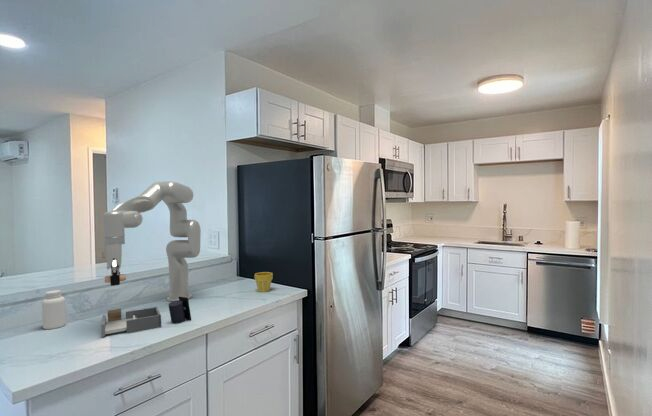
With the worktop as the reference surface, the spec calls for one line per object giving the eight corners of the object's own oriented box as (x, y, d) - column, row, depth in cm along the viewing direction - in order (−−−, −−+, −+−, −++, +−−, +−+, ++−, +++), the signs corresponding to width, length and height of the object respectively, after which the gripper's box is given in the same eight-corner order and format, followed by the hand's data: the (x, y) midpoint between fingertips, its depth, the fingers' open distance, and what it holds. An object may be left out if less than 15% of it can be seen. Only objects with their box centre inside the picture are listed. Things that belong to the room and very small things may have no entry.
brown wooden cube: (108, 321, 155) (107, 310, 155) (121, 319, 158) (120, 308, 158) (107, 324, 151) (107, 313, 151) (121, 322, 154) (121, 311, 154)
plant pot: (276, 289, 205) (276, 273, 205) (262, 293, 197) (262, 276, 197) (265, 287, 212) (264, 271, 212) (251, 291, 204) (250, 274, 204)
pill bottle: (40, 331, 146) (39, 294, 145) (45, 325, 153) (44, 290, 153) (64, 327, 149) (63, 292, 149) (67, 322, 156) (66, 288, 156)
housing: (157, 317, 159) (157, 306, 159) (161, 327, 146) (160, 315, 146) (125, 323, 153) (125, 311, 153) (126, 333, 140) (126, 320, 140)
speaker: (186, 316, 159) (183, 294, 157) (191, 320, 154) (188, 297, 153) (168, 322, 154) (166, 299, 152) (173, 326, 149) (171, 302, 148)
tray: (137, 320, 155) (136, 309, 155) (139, 330, 142) (138, 318, 142) (103, 326, 148) (102, 315, 148) (102, 337, 136) (101, 324, 136)
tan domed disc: (105, 280, 149) (105, 275, 149) (125, 278, 153) (125, 273, 153) (104, 283, 143) (104, 278, 143) (125, 281, 146) (125, 276, 146)
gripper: (104, 240, 154) (106, 281, 154) (102, 243, 138) (103, 288, 138) (124, 239, 157) (125, 278, 157) (124, 242, 142) (125, 286, 142)
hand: (115, 283), depth 148 cm, fingers closed on tan domed disc, 7 cm apart
